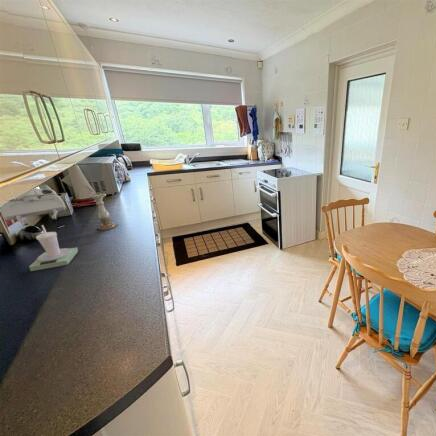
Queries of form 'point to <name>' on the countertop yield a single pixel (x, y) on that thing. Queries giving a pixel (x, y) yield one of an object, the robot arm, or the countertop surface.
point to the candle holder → (103, 212)
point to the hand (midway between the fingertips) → (40, 221)
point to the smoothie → (49, 242)
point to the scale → (54, 259)
